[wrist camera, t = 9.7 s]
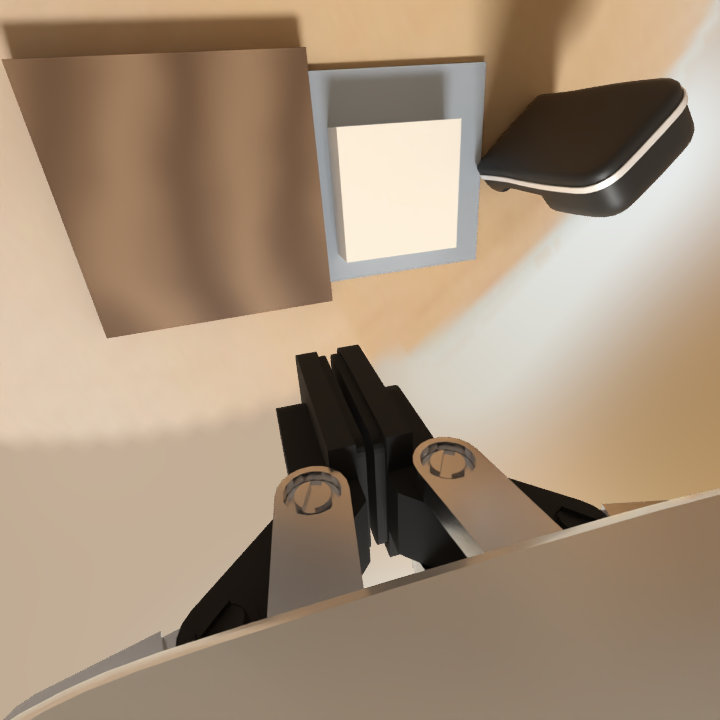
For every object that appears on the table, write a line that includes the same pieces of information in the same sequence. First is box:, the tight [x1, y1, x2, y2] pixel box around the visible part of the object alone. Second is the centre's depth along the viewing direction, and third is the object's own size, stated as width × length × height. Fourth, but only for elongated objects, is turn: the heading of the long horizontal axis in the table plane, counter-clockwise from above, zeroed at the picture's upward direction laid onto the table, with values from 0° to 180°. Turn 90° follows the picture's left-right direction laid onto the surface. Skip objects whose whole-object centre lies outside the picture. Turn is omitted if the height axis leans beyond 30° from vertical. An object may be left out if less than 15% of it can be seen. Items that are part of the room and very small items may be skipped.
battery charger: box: [477, 78, 694, 217], centre depth 27 cm, size 7×4×11 cm, turn 134°
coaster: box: [327, 118, 462, 263], centre depth 29 cm, size 8×8×2 cm
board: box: [1, 47, 333, 338], centre depth 27 cm, size 15×15×2 cm
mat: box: [308, 62, 486, 282], centre depth 30 cm, size 12×13×1 cm
